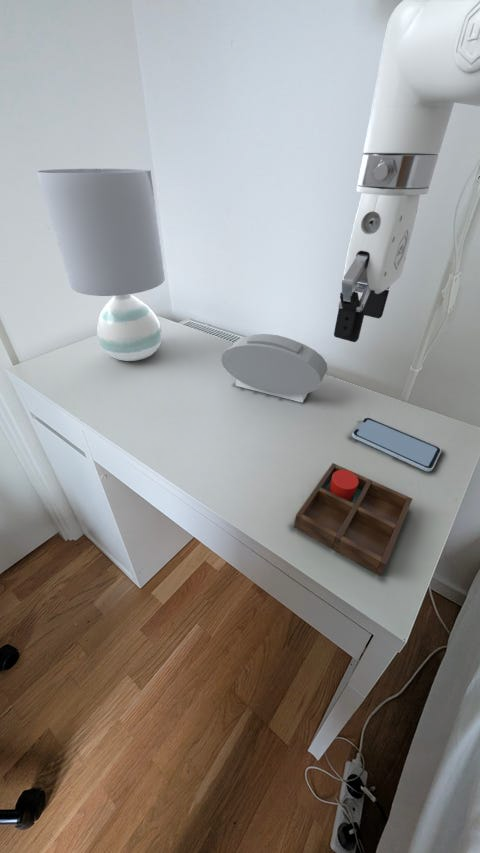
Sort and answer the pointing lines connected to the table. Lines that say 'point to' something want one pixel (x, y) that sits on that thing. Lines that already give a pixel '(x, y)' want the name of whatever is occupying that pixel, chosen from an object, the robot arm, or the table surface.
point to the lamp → (110, 249)
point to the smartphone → (397, 443)
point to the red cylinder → (344, 484)
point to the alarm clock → (275, 366)
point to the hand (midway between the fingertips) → (358, 326)
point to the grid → (355, 520)
